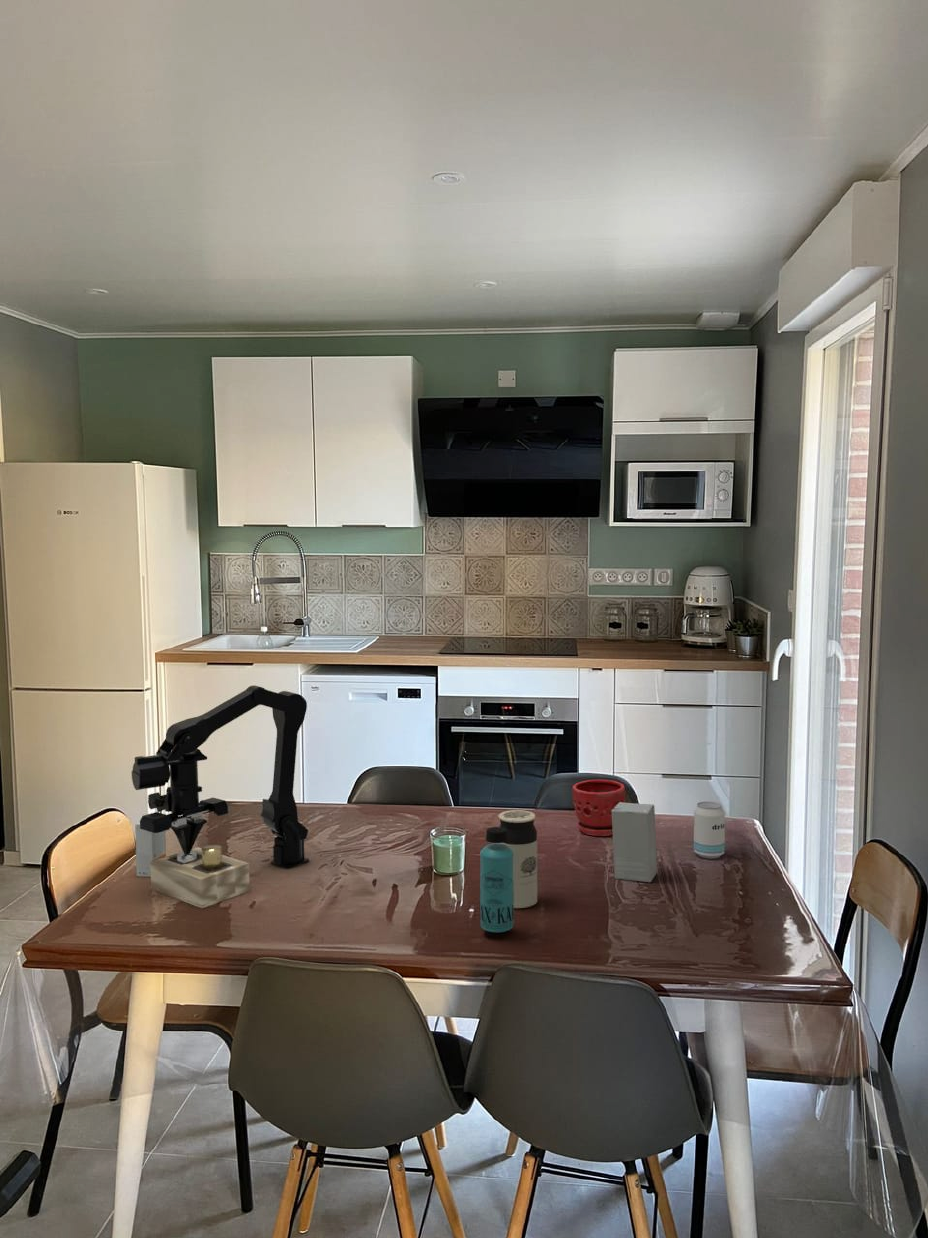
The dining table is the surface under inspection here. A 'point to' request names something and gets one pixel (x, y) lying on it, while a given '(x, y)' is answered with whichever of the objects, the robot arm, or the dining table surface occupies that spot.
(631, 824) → the skincare box
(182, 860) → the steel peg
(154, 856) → the skincare box
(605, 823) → the plant pot
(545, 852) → the dining table surface
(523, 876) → the travel mug
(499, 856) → the beverage bottle
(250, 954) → the dining table surface
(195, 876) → the collar block
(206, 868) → the brass peg
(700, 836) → the beverage can
